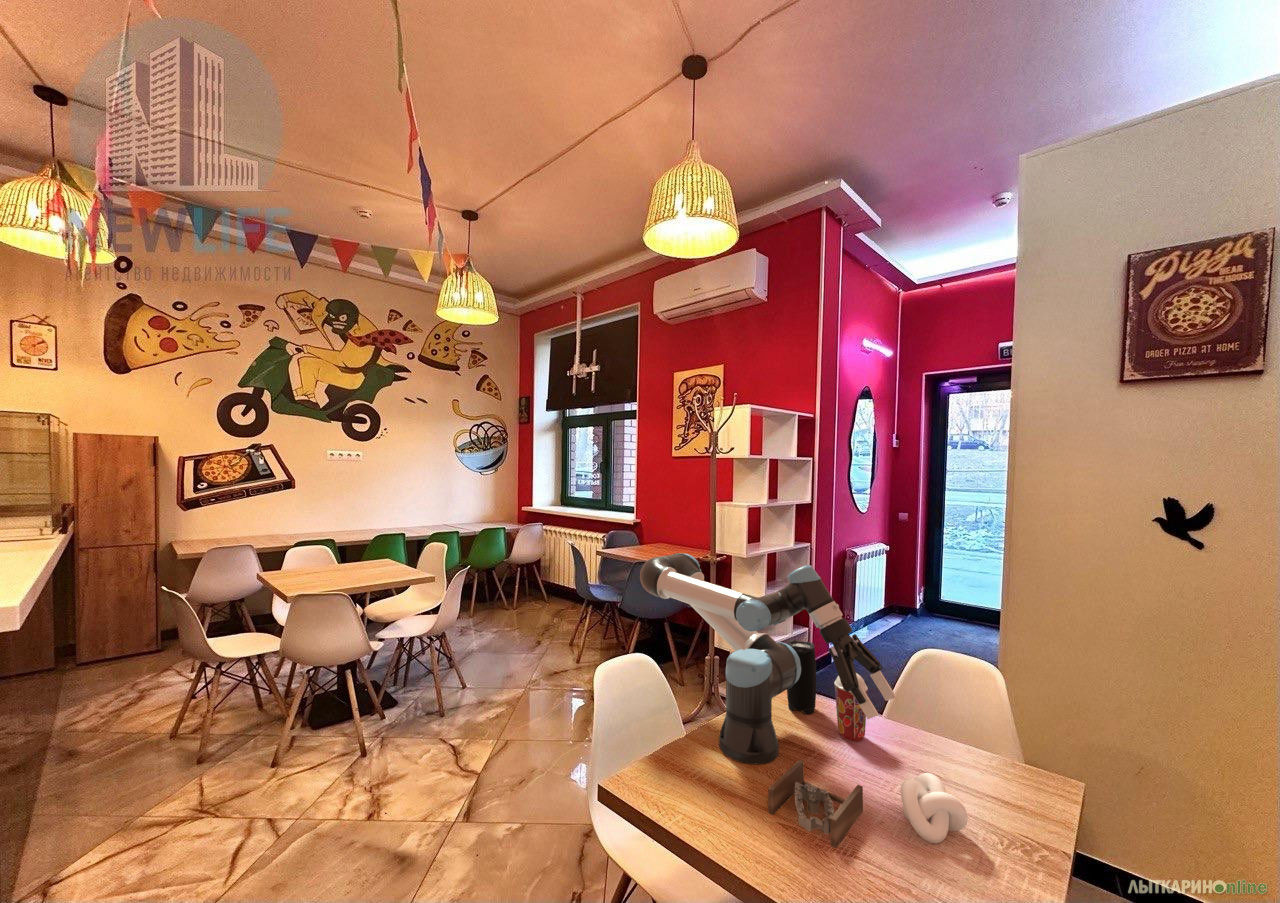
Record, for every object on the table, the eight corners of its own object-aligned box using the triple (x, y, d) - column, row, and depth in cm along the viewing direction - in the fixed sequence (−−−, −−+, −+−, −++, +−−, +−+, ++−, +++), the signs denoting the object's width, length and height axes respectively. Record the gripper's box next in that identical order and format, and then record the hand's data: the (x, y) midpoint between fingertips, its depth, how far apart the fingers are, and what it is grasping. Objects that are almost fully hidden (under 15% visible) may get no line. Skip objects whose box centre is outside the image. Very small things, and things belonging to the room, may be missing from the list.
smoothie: (873, 745, 128) (872, 667, 129) (842, 744, 128) (841, 666, 130) (860, 729, 136) (859, 656, 138) (830, 728, 137) (829, 655, 138)
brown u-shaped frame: (768, 812, 101) (768, 787, 101) (799, 782, 112) (799, 759, 112) (836, 848, 92) (835, 820, 92) (863, 811, 102) (862, 786, 102)
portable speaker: (817, 705, 151) (816, 641, 152) (815, 718, 142) (815, 650, 144) (788, 699, 154) (788, 637, 156) (784, 712, 146) (785, 646, 147)
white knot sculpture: (884, 807, 104) (883, 763, 104) (941, 809, 103) (940, 765, 104) (912, 846, 92) (911, 797, 93) (976, 849, 92) (975, 799, 93)
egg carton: (836, 838, 95) (836, 816, 95) (795, 830, 97) (795, 809, 97) (830, 803, 105) (830, 784, 105) (794, 796, 107) (794, 777, 107)
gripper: (823, 626, 115) (879, 720, 106) (860, 608, 133) (910, 687, 124) (798, 639, 119) (850, 730, 110) (837, 620, 137) (885, 697, 128)
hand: (882, 707), depth 117 cm, fingers open, 13 cm apart
